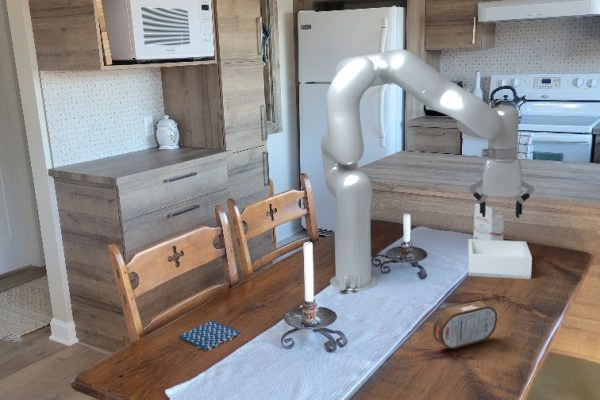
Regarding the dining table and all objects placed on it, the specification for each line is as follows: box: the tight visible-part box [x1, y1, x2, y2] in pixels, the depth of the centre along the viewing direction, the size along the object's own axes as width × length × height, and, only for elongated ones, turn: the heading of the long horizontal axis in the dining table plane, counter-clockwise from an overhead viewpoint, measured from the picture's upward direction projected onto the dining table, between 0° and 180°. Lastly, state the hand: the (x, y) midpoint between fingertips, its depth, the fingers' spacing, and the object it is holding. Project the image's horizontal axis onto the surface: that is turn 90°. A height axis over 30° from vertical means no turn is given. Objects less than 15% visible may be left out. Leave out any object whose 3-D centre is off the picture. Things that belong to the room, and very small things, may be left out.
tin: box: [432, 300, 498, 350], centre depth 119 cm, size 15×3×8 cm, turn 114°
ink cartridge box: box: [472, 203, 505, 240], centre depth 176 cm, size 9×5×15 cm, turn 22°
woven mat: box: [178, 319, 242, 353], centre depth 126 cm, size 10×11×2 cm
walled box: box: [467, 238, 533, 280], centre depth 162 cm, size 15×16×6 cm
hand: (500, 216), depth 159 cm, fingers open, 8 cm apart
